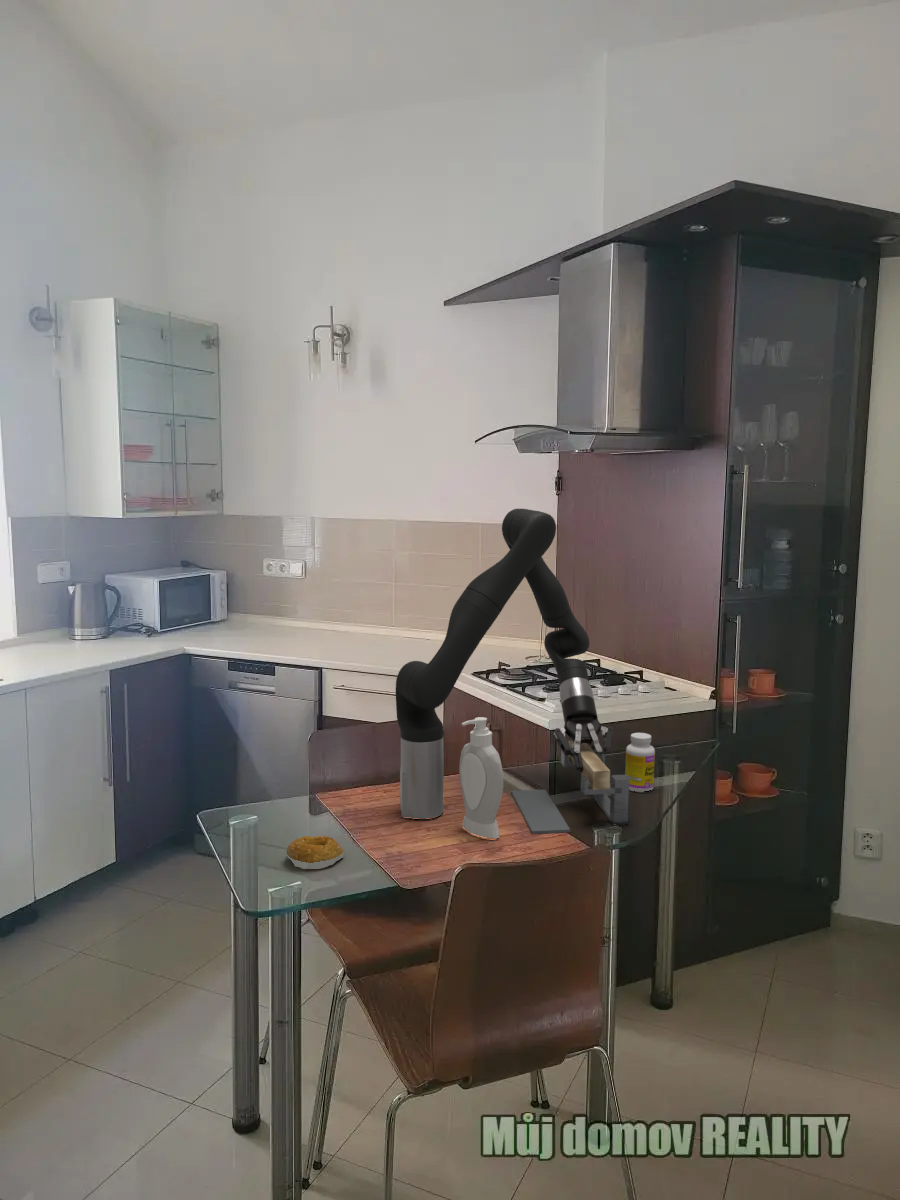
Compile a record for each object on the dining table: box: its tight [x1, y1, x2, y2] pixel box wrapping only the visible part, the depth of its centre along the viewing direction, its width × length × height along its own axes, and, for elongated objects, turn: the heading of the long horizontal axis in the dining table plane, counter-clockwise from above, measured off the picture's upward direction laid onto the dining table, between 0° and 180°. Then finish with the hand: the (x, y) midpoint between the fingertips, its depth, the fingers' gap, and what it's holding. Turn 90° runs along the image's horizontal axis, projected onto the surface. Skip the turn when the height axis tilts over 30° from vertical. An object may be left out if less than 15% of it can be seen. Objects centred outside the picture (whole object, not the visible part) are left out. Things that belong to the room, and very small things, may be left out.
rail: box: [567, 739, 611, 790], centre depth 201 cm, size 4×22×4 cm, turn 6°
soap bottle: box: [458, 716, 504, 839], centre depth 186 cm, size 13×8×24 cm, turn 41°
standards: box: [560, 749, 630, 825], centre depth 202 cm, size 10×21×10 cm, turn 6°
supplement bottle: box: [624, 732, 656, 793], centre depth 214 cm, size 7×7×13 cm
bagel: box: [285, 835, 345, 863], centre depth 175 cm, size 10×11×5 cm
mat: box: [510, 788, 571, 835], centre depth 201 cm, size 8×24×1 cm, turn 6°
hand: (590, 770), depth 200 cm, fingers closed on rail, 3 cm apart
